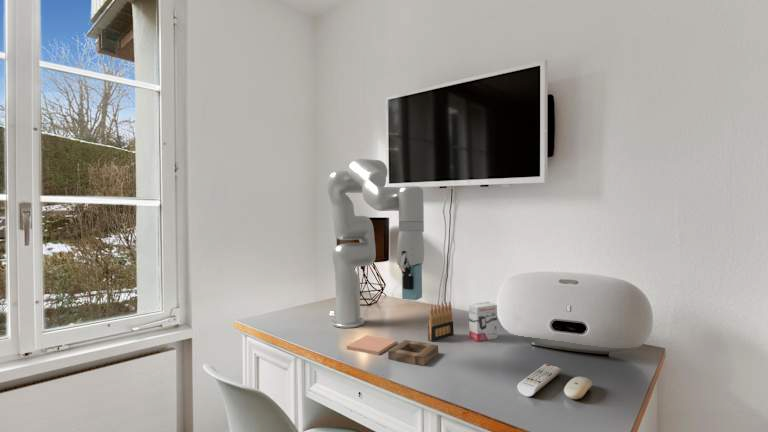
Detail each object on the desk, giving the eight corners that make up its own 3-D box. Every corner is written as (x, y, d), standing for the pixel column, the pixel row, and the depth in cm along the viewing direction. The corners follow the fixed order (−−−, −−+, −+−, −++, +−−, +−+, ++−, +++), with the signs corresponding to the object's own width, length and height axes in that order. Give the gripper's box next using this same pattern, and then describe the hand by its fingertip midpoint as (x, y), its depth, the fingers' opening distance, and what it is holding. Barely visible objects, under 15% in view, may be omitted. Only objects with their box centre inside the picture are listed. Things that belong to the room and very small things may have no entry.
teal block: (402, 298, 120) (401, 265, 120) (408, 295, 124) (408, 263, 124) (415, 300, 118) (415, 266, 118) (422, 297, 122) (421, 264, 122)
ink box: (477, 342, 133) (477, 307, 133) (468, 338, 137) (468, 303, 137) (498, 338, 136) (497, 304, 136) (488, 334, 141) (488, 301, 141)
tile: (346, 348, 129) (346, 345, 129) (366, 338, 139) (366, 335, 139) (378, 355, 123) (378, 351, 123) (396, 343, 133) (396, 340, 133)
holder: (387, 359, 119) (387, 350, 119) (405, 347, 129) (405, 339, 129) (423, 366, 113) (423, 357, 113) (438, 353, 123) (438, 345, 123)
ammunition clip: (431, 341, 134) (431, 306, 134) (428, 340, 136) (427, 305, 135) (453, 335, 141) (453, 301, 140) (450, 334, 142) (449, 300, 142)
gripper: (412, 225, 130) (412, 281, 130) (386, 228, 115) (387, 291, 116) (433, 226, 126) (434, 283, 127) (410, 229, 112) (411, 294, 112)
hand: (412, 286), depth 121 cm, fingers closed on teal block, 4 cm apart
